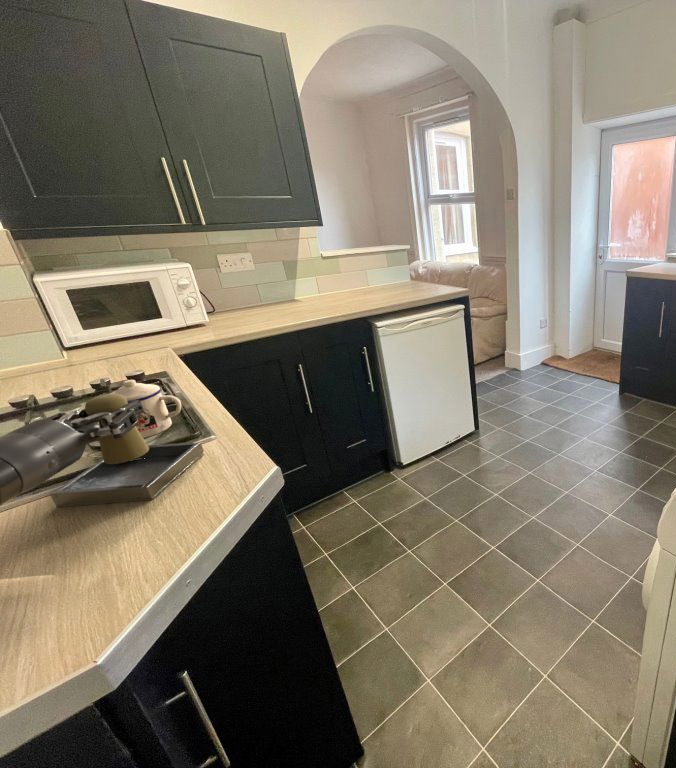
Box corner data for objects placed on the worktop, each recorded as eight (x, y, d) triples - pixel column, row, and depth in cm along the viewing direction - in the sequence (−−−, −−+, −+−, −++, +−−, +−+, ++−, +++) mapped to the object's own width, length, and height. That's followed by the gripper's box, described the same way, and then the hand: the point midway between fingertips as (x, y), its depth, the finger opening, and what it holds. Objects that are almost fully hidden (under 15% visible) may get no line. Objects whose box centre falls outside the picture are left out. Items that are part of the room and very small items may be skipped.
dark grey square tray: (56, 507, 67) (49, 494, 66) (125, 458, 81) (120, 447, 80) (152, 500, 68) (147, 486, 67) (204, 453, 82) (200, 441, 81)
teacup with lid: (112, 443, 87) (89, 392, 82) (132, 425, 94) (112, 376, 90) (180, 433, 90) (162, 383, 86) (194, 415, 98) (178, 369, 94)
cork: (117, 466, 69) (91, 406, 65) (95, 460, 71) (69, 401, 67) (157, 449, 74) (135, 392, 70) (135, 443, 76) (113, 387, 72)
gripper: (71, 430, 56) (158, 383, 71) (-48, 437, 55) (68, 388, 70) (93, 477, 59) (172, 422, 74) (-20, 485, 57) (85, 427, 73)
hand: (121, 406), depth 72 cm, fingers closed on cork, 5 cm apart
